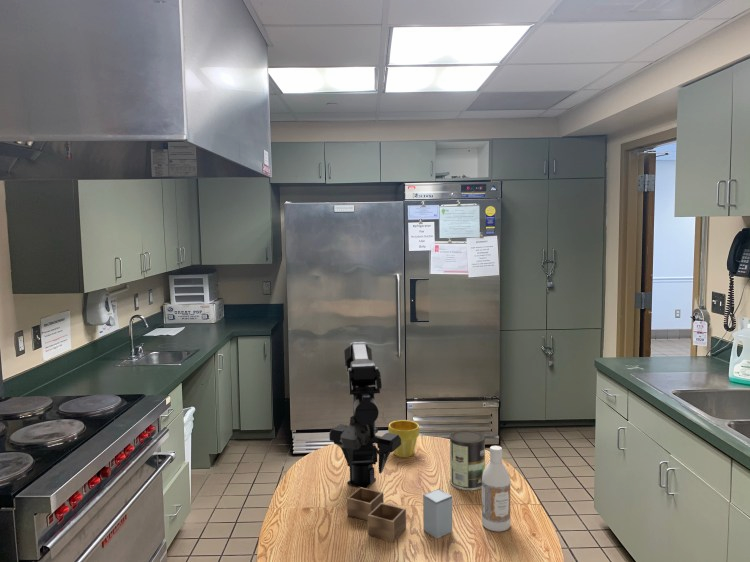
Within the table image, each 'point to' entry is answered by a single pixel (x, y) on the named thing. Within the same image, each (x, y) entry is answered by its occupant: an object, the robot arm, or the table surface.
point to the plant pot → (405, 436)
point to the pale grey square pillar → (437, 513)
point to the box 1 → (363, 503)
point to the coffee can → (467, 459)
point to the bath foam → (496, 493)
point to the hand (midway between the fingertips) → (365, 469)
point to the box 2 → (387, 522)
